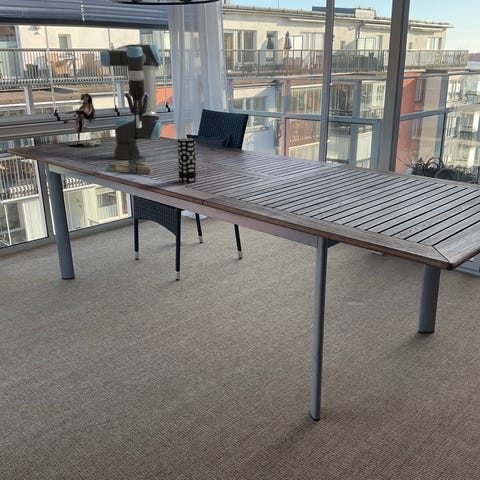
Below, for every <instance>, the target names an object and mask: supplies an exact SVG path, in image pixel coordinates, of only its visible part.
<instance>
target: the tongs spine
mask: <svg viewBox="0 0 480 480" xmlns="http://www.w3.org/2000/svg"><path fill="white" fill-rule="evenodd" d="M108 171H109V172H120V173H132V172H129V165H127V164H116V163H113V162H111V163H108ZM136 174H144V175H151V174H153V166H151V165H149V166H148V165H145V166H144V165H141V166H140V165H137V173H136Z"/></svg>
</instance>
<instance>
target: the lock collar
mask: <svg viewBox="0 0 480 480" xmlns="http://www.w3.org/2000/svg"><path fill="white" fill-rule="evenodd" d="M141 162H145V163H146V158H145V157H140V158H136V159H129V160H128V163H129V172H128V173H131V172H132V173H133V174H138V173H137V165H136V164H138V163H141ZM144 166H146V164H145V165H144Z"/></svg>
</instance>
